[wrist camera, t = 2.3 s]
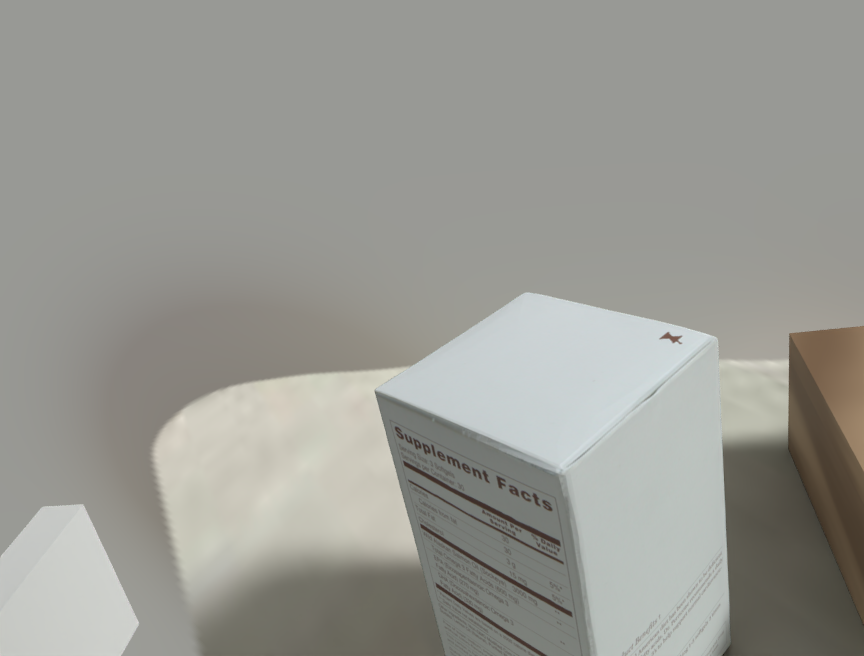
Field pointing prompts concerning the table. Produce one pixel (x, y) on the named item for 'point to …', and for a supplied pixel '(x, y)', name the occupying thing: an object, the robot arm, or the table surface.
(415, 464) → the supplement box
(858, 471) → the shelf
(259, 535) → the table surface
